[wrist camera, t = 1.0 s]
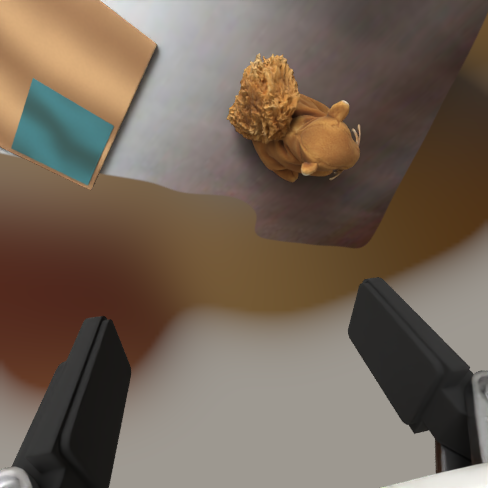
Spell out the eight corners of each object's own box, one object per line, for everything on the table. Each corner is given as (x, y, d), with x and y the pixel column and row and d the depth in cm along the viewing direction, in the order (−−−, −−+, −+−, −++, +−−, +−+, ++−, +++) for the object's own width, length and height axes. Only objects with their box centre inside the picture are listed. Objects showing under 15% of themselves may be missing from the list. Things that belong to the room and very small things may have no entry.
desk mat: (-104, -156, 19) (-113, -164, 19) (157, 44, 28) (156, 44, 27) (-129, 82, 25) (-136, 82, 25) (92, 189, 34) (90, 190, 33)
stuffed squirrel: (293, 184, 38) (336, 225, 27) (204, 129, 32) (213, 152, 21) (339, 118, 35) (410, 134, 23) (248, 43, 29) (286, 17, 18)
